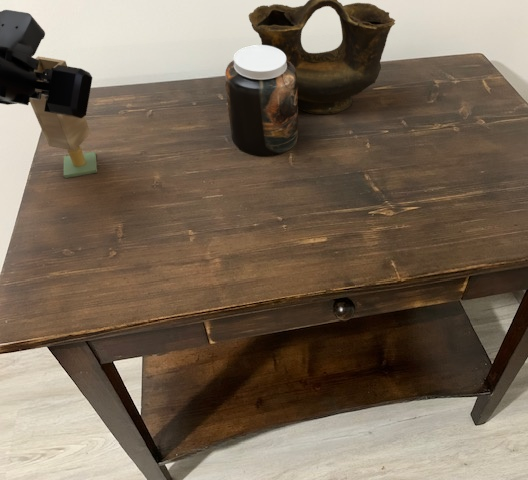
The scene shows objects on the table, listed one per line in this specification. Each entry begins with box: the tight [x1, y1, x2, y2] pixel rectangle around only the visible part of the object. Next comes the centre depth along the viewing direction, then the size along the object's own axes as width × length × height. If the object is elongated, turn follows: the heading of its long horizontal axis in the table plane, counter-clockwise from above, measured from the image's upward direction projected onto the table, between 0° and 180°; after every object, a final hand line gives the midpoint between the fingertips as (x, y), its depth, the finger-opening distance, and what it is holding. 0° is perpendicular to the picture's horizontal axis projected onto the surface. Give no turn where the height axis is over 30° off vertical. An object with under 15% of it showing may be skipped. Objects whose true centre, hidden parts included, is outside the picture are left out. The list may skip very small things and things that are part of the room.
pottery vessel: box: [248, 0, 396, 115], centre depth 95 cm, size 25×11×20 cm, turn 98°
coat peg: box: [63, 145, 98, 179], centre depth 86 cm, size 5×5×4 cm
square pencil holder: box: [29, 56, 92, 151], centre depth 79 cm, size 5×4×12 cm
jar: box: [224, 44, 299, 157], centre depth 89 cm, size 12×12×15 cm
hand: (61, 98), depth 79 cm, fingers closed on square pencil holder, 4 cm apart
